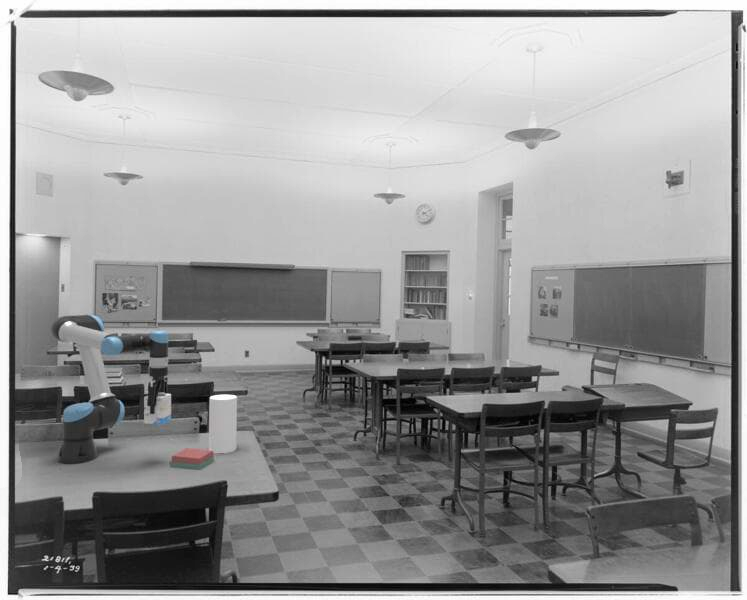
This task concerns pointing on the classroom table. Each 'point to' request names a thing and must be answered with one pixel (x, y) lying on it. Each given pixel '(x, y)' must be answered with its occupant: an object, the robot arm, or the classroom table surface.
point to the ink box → (159, 409)
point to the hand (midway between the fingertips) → (157, 418)
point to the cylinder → (222, 423)
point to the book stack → (192, 458)
